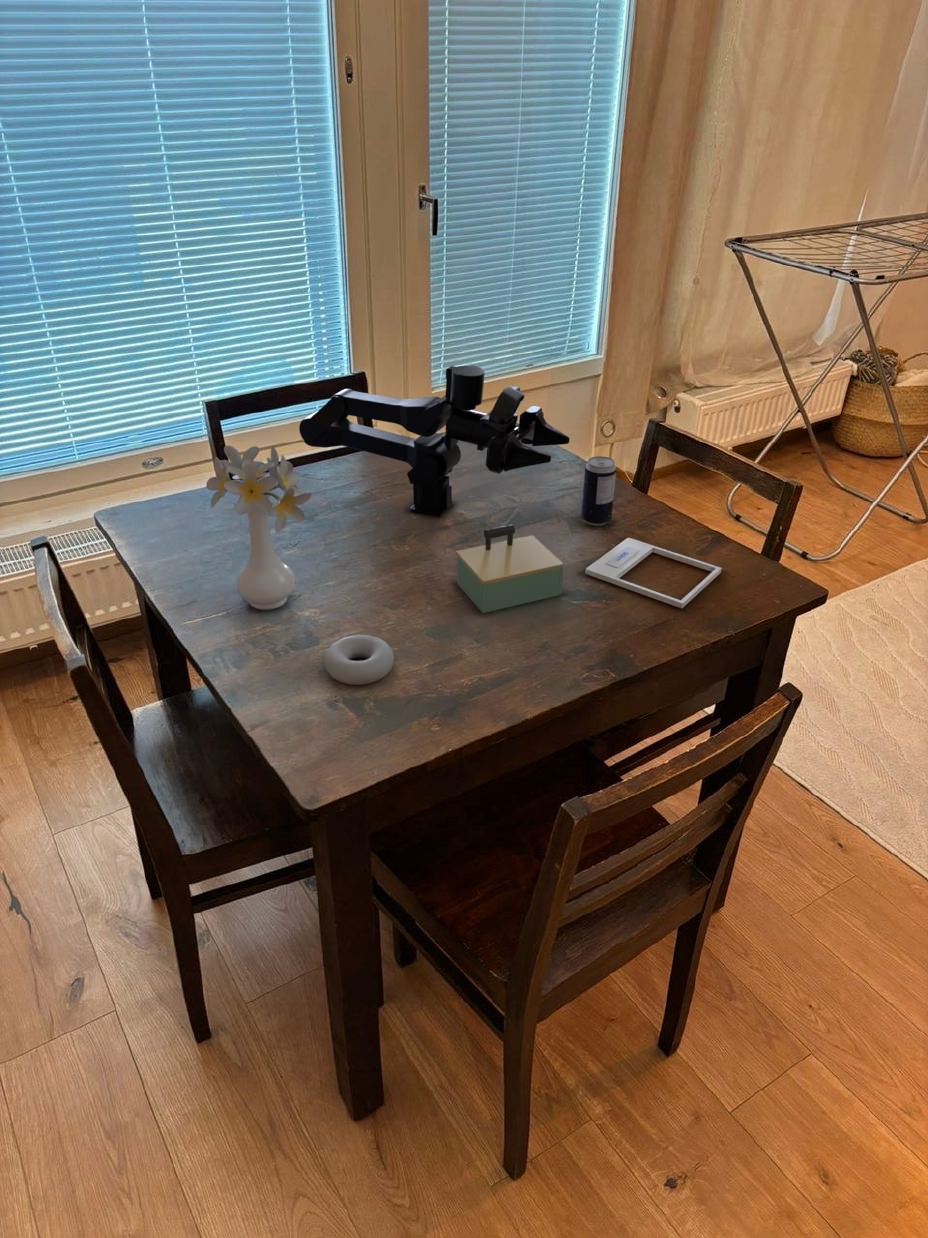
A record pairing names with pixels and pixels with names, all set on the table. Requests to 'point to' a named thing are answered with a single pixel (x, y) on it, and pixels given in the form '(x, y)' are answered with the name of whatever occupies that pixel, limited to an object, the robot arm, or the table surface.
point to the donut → (359, 671)
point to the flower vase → (261, 519)
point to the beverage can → (598, 490)
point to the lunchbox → (509, 588)
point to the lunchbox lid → (507, 556)
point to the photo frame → (631, 555)
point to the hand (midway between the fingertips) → (560, 449)
